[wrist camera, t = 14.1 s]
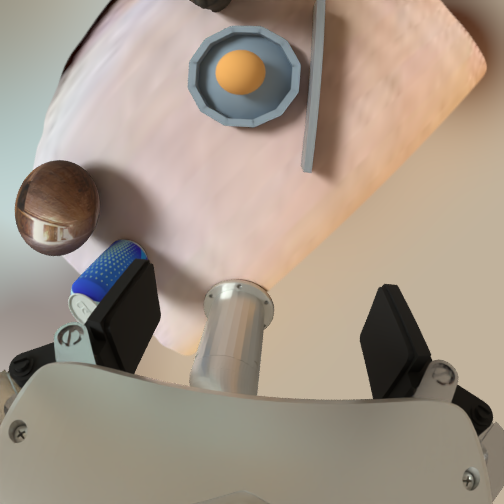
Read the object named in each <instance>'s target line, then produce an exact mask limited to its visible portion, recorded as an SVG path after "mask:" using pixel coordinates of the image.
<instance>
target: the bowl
mask: <svg viewBox="0 0 504 504" xmlns="http://www.w3.org/2000/svg"><path fill="white" fill-rule="evenodd" d="M235 50H247V51H250V52H253V53H255V54H256V55H257V56H259V57H260V59H261V60H262V61H263V63H264V66H265V71H266V74H265V79H264V81H263V83H262V84H261V86H260V87H259V88H258V89H257V90H255V91H253V92H252V93H249V94H245V95H235V94H232V93H229V92H227V91H225V90H224V89H223V88H222V87H221V86H220V85H219V83H218V81H217V79H216V74H215V71H216V66H217V64H218V62H219V60H220V59H221V58H222V57H223V56H224V55H226V54H227V53H229V52H231V51H235ZM300 69H301V64H300V62H299V61H298V59H297V57H296V55H295V53H294V52H293V50H292V48H291V46H290V45H289V43H288V41H287V40H285V39H284V38H282V37H280V36H278V35H277V34H275V33H273V32H271V31H269V30H268V29H266V28H264V27H261V26H232V27H231V26H230V27H228V28H226V29H224V30H222V31H220V32H218V33H216V34H214V35H212V36H210V37H208V38H206V39H205V40H204V41H203V43H202V44H201V45H200V47H199V48H198V50H197V51H196V53H195V54H194V56H193V57H192V58H191V60H190V62H189V74H188V89H189V91H190V93H191V95H192V97H193V99H194V100H195V102H196V104H197V106H198V108H199V109H200V111H201V112H202V113H204V114H206V115H208V116H209V117H211V118H213V119H214V120H216V121H218V122H219V123H221V124H223V125H224V126H241V127H256V126H258V125H260V124H263V123H265V122H267V121H269V120H272V119H274V118H276V117H279V116H281V115H282V114H283V113H284V111H285V110H286V109H287V107H288V106H289V104H290V103H291V102H292V101H293V99H294V98H295V97H296V95H297V94H298V92H299V82H300Z"/></svg>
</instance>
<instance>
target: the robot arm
mask: <svg viewBox="0 0 504 504" xmlns="http://www.w3.org/2000/svg"><path fill="white" fill-rule="evenodd" d="M204 312H205V315H206V317H207V318H208V319H207V322H206V325H205V328H204V331H203V334H202V337H201V341H200V344H199V347H198V350H197V353H196V356H195V360H194V363H193V366H192V369H191V372H190V380H189V383H190V386H186V385H180V384H175V383H170V382H166V381H161V380H157V379H153V378H148V377H144V376H139V375H135V374H134V373H135V371H136V369H137V366H138V364H139V362H140V360H141V358H142V356H143V354H144V352H145V349H146V348H147V346H148V343H149V341H150V339H151V337H152V335H153V333H154V331H155V329H156V327H157V325H158V323H159V321H160V318H161V312H160V306H159V300H158V294H157V287H156V280H155V273H154V267H153V264H150V262H149V260H145V259H137V258H136V259H134V260H133V262H132V263H131V264H130V265H129V266H128V268H127V269H126V270H125V271H124V272H123V274H122V275H121V276H120V277H119V279H118V280H117V281H116V282H115V284H114V285H113V286H112V287H111V289H110V290H109V291H108V292H107V294H106V295H105V296H104V297H103V299H102V300H101V301H100V303H99V304H98V305H97V307H96V308H95V309H94V311H93V312H92V313H91V315H90V316H89V317H88V319H87V321H86V323H85V324H84V325H83V324H81V323H79V322H71V323H67V324H65V325H63V326H61V327H60V328H59V329H58V330H57V331H56V333H55V335H54V342H53V343H50V344H47V345H45V346H42V347H39V348H36V349H33V350H30V351H27V352H24V353H21V354H19V355H17V356H16V357H15V358H14V359H13V360H12V361H11V364H10V366H9V371H8V372H6V371H5V370H4V371H2V372H0V504H493V503H492V502H493V501H494V499H495V498H496V497H497V495H498V494H499V492H500V491H501V489H502V488H503V486H504V430H503V429H502V428H501V426H500V425H499V424H498V423H497V422H495V423H494V424H493V423H492V421H493V414H492V411H491V408H490V407H489V406H488V405H487V404H486V403H485V402H484V401H482V400H480V399H479V398H477V397H476V396H474V395H473V394H471V393H470V392H468V391H466V390H465V389H463V388H462V387H460V386H459V385H457V383H458V374H457V372H456V370H455V368H454V367H453V366H452V365H451V364H449V363H448V362H446V361H443V360H434V361H432V359H431V353H430V351H429V349H428V346H427V344H426V342H425V340H424V338H423V336H422V334H421V331H420V329H419V327H418V325H417V323H416V321H415V319H414V317H413V315H412V313H411V311H410V309H409V307H408V305H407V303H406V301H405V299H404V297H403V295H402V293H401V291H400V289H399V287H398V286H397V285H391V284H384V285H383V286H382V287H379V288H378V291H377V293H376V296H375V299H374V301H373V304H372V307H371V309H370V312H369V315H368V317H367V320H366V322H365V325H364V327H363V330H362V332H361V334H360V343H361V348H362V352H363V355H364V360H365V364H366V368H367V373H368V377H369V382H370V386H371V391H372V396H373V399H361V400H314V399H291V398H276V397H264V396H257V390H258V381H259V371H260V361H261V351H262V340H263V330H264V329H266V328H267V326H269V324H270V323H271V321H272V319H273V315H274V305H273V302H272V299H271V297H270V296H269V294H268V293H267V292H266V291H265V290H264V289H262V288H261V287H260V286H258V285H256V284H254V283H252V282H249V281H245V280H239V279H236V280H226V281H222V282H220V283H218V284H216V285H214V286H213V287H212V288H211V289H210V290H209V291H208V293H207V294H206V297H205V300H204Z"/></svg>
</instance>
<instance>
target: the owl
mask: <svg viewBox="0 0 504 504" xmlns="http://www.w3.org/2000/svg"><path fill="white" fill-rule="evenodd" d="M190 1H191V2H193V3H194V4H195V5H198V6H200V7H201V8H203V9H210V10H212V12H218V11H221V10H222V9H224V8H225V7H226V6H227V5H228V4H229V3H230V2H231V0H190Z"/></svg>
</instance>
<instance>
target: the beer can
mask: <svg viewBox="0 0 504 504" xmlns="http://www.w3.org/2000/svg"><path fill="white" fill-rule="evenodd" d="M136 258H137V259H145V260H148V257H147V254H146V252H145V251H144V249H143V248H142V247H141V246H140V245H139V244H137V243H136V242H133V241H130V240H118V241H115V242H114V243H113V244H112V245H111V246H110V247H109V248H108V249H106V250H105V251H104V252H103V253H102V254H101V255H100V256H99V257H98V258H97V259H96V260H95V261H94V262H93V263H92V264H91V265H90V266H89V267H88V268H87V269H86V270H85V272H84V273H83V274H82V275H81V276H80V277H79V278H78V279H77V280H76V281H75V282H74V283H73V285H72V288H71V296H70V297H69V300H68V306H69V309H70V311H71V313H72V315H73V316H74V317H75V319H76V320H77V321H78V322H79V323H81V324H83V325H84V324H85V323H86V321H87V319H88V317H89V316H90V315H91V313H92V312H93V311H94V309H95V308H96V307H97V305H98V304H99V303H100V301H101V300H102V299H103V297H104V296H105V295H106V294H107V292H108V291H109V290H110V289H111V287H112V286H113V285H114V284H115V282H116V281H117V280H118V279H119V277H120V276H121V275H122V274H123V272H124V271H125V270H126V269H127V268H128V266H129V265H130V264H131V263H132V262H133V260H134V259H136Z"/></svg>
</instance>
